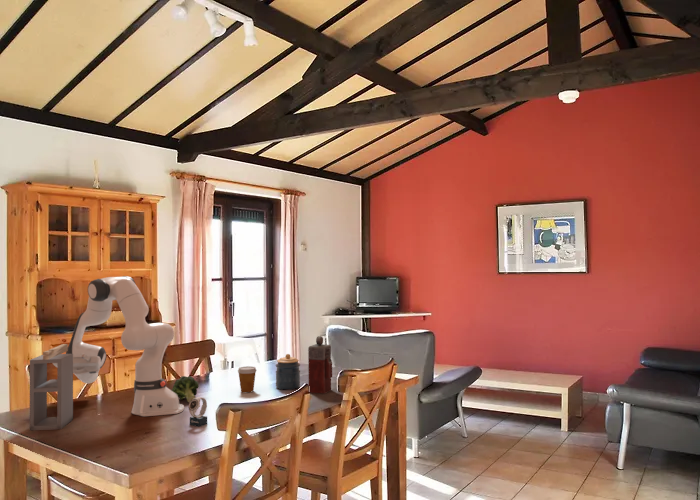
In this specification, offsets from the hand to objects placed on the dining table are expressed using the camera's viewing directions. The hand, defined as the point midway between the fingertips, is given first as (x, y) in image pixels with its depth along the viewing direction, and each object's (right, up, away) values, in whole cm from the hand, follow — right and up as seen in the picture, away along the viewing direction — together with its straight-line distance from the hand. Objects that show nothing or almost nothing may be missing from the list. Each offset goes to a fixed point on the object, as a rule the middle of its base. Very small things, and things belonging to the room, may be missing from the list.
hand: (72, 356), depth 264 cm
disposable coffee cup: (+74, -25, +34) cm, 85 cm away
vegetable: (+48, -24, +16) cm, 56 cm away
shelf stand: (+3, -24, -23) cm, 33 cm away
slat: (+3, +4, -20) cm, 21 cm away
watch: (+64, -24, -26) cm, 73 cm away
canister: (+94, -25, +43) cm, 106 cm away
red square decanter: (+112, -24, +33) cm, 119 cm away
